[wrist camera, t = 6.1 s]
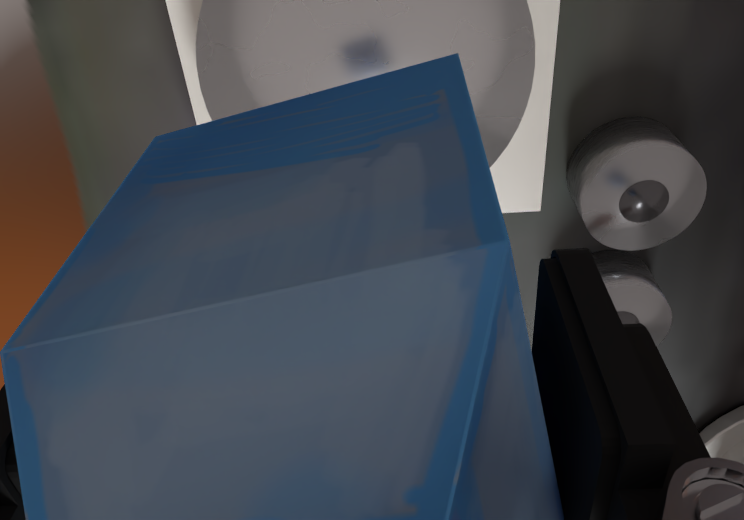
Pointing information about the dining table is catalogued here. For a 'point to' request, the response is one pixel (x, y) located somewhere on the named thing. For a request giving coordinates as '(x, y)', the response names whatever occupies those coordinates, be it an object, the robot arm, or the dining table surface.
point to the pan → (365, 52)
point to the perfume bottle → (291, 326)
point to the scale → (516, 163)
